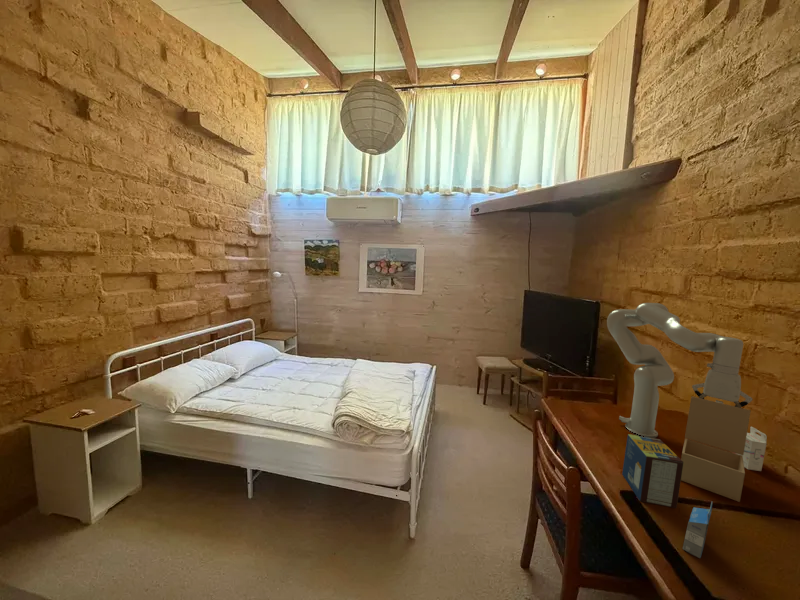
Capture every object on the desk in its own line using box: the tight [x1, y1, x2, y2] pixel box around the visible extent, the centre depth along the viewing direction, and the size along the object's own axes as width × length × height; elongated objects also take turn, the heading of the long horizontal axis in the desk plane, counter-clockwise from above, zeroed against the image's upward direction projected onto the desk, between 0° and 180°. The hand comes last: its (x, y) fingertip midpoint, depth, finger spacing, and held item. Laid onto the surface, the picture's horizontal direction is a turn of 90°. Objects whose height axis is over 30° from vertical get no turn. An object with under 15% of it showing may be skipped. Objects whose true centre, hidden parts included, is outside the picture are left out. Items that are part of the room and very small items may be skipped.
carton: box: [680, 437, 746, 503], centre depth 124 cm, size 16×16×10 cm
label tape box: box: [682, 502, 713, 559], centre depth 92 cm, size 9×4×12 cm, turn 133°
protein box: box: [621, 433, 684, 509], centre depth 116 cm, size 10×15×16 cm
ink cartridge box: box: [732, 426, 768, 472], centre depth 137 cm, size 9×5×15 cm, turn 168°
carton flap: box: [684, 396, 751, 455], centre depth 132 cm, size 16×16×7 cm
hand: (717, 412), depth 134 cm, fingers open, 9 cm apart
